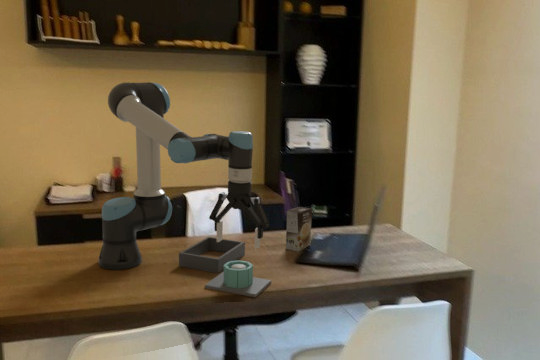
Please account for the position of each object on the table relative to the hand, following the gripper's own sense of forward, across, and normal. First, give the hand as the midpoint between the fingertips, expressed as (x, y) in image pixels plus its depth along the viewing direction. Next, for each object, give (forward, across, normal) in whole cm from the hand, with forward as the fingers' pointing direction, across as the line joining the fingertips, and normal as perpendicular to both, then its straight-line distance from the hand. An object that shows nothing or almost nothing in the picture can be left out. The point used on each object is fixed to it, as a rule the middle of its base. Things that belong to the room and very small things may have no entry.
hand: (238, 244), depth 173 cm
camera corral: (+14, -18, +18) cm, 29 cm away
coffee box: (+14, +6, +46) cm, 48 cm away
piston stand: (+14, +1, 0) cm, 14 cm away
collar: (+13, +1, 0) cm, 13 cm away
